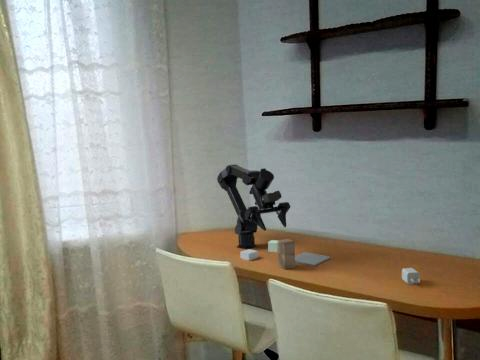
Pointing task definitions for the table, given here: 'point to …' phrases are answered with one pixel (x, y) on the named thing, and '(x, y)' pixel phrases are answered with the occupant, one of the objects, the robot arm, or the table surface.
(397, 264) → the table surface
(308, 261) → the slate coaster
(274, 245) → the pale green cube
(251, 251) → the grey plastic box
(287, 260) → the walnut pillar
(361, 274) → the table surface
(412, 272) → the usb wall charger
